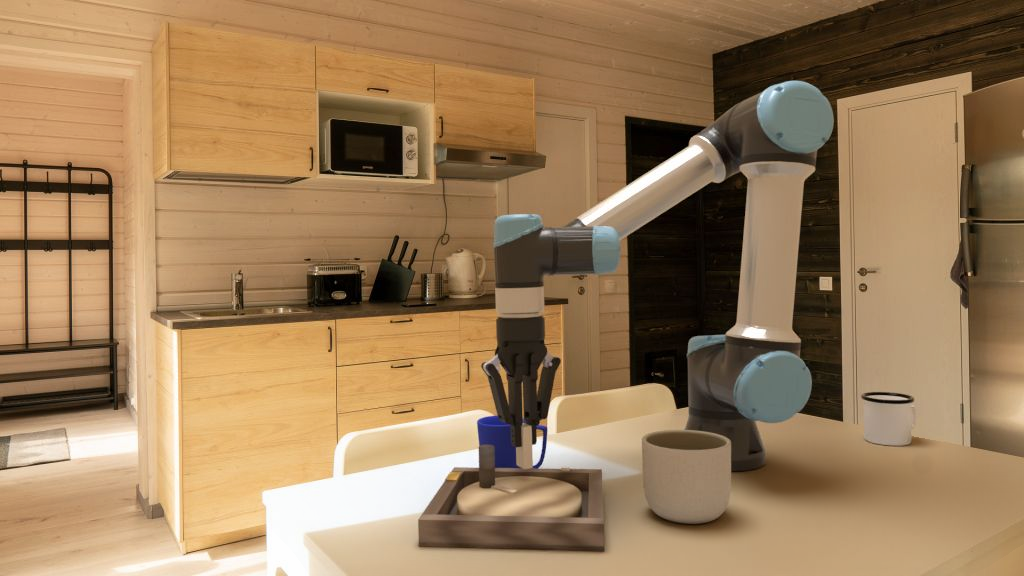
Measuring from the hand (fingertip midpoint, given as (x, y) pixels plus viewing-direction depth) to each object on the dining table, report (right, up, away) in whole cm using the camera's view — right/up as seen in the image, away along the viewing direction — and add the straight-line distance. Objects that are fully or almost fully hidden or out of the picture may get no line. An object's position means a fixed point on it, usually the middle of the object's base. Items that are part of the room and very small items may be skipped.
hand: (524, 466), depth 110 cm
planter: (+23, -5, -8) cm, 25 cm away
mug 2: (+74, -3, +31) cm, 81 cm away
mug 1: (-2, -5, +11) cm, 12 cm away
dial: (-1, -5, -7) cm, 9 cm away
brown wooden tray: (-1, -5, -7) cm, 9 cm away
